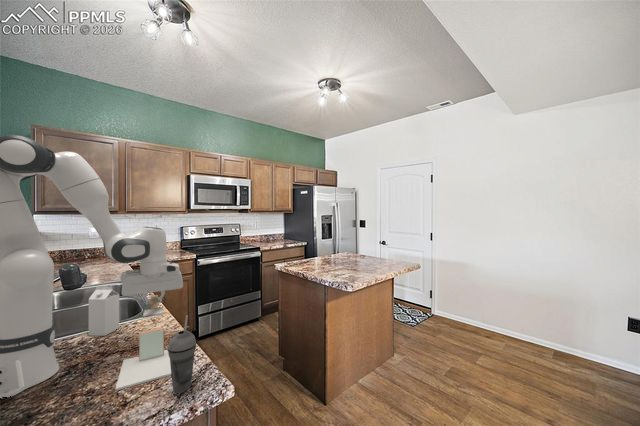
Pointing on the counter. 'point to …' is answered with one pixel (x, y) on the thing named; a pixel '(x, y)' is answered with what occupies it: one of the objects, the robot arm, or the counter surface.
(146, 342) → the tile
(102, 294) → the milk carton
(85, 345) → the counter surface
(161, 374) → the mat
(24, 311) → the robot arm
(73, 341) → the counter surface
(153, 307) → the turner
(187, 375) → the beverage cup
